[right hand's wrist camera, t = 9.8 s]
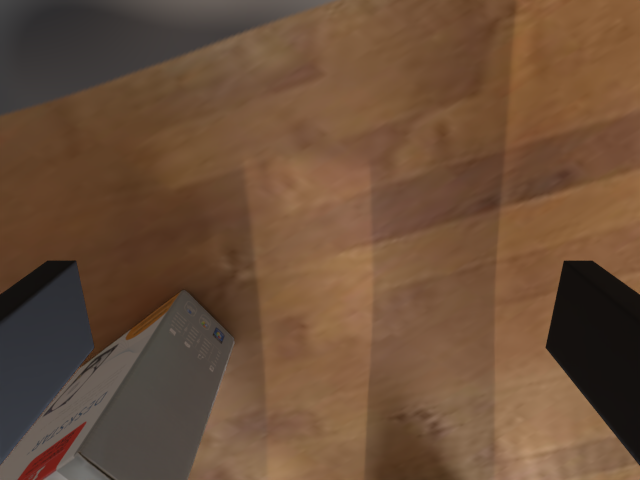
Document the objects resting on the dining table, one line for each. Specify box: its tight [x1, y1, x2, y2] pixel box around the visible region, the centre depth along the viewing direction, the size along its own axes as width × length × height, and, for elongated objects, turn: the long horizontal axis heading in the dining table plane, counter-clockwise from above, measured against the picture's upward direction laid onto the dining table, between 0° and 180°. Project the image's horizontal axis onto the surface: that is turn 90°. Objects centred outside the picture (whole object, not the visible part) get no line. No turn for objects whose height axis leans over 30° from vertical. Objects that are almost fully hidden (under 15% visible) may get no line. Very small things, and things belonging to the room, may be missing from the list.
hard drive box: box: [0, 290, 235, 480], centre depth 37 cm, size 16×8×20 cm, turn 128°
